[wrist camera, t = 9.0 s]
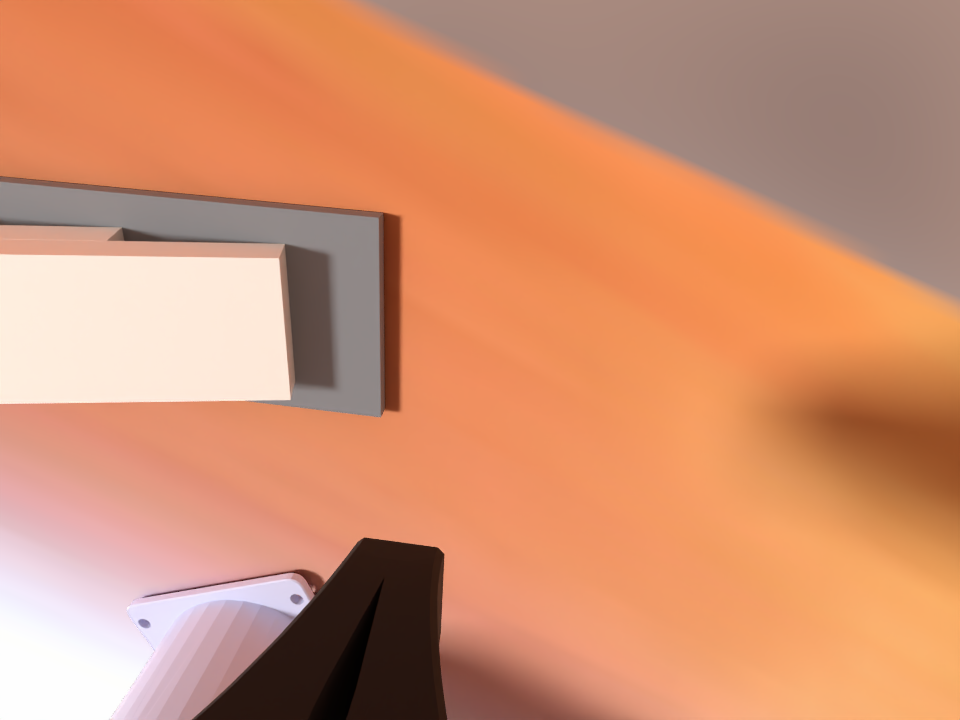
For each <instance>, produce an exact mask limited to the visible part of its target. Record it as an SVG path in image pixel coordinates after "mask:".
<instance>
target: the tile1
mask: <svg viewBox="0 0 960 720" xmlns="http://www.w3.org/2000/svg"><path fill="white" fill-rule="evenodd" d="M294 383H295V370H294V357H293V344H292V331H291V318H290V305H289V292H288V279H287V266H286V253H285V244H268V243H208V242H149V241H90V240H30V239H0V404H20V403H99V402H177V401H256V400H291V396H292V392H293V388H294Z"/></svg>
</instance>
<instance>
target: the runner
mask: <svg viewBox="0 0 960 720" xmlns="http://www.w3.org/2000/svg"><path fill="white" fill-rule="evenodd" d="M0 225H23V226H74V227H122V231H123V237H124V241H149V242H208V243H268V244H285V253H286V266H287V279H288V292H289V305H290V318H291V331H292V344H293V357H294V370H295V383H294V388H293V392H292V396H291V400H256V401H250V402H259V403H267V404H275V405H283V406H292V407H300V408H308V409H316V410H325V411H333V412H341V413H349V414H358V415H366V416H374V417H381V416H382V414H383V412H384V410H385V364H384V231H383V213H380V212H369V211H359V210H348V209H338V208H327V207H316V206H306V205H295V204H285V203H274V202H264V201H253V200H243V199H232V198H221V197H211V196H200V195H190V194H179V193H169V192H158V191H148V190H137V189H126V188H116V187H105V186H95V185H84V184H74V183H63V182H53V181H42V180H31V179H21V178H10V177H0Z"/></svg>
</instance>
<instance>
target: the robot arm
mask: <svg viewBox="0 0 960 720" xmlns="http://www.w3.org/2000/svg"><path fill="white" fill-rule="evenodd" d="M443 571H444V553H443V552H442V551H441V550H440V549H439V548H437V547H430V546H423V545H415V544H408V543H401V542H393V541H386V540H379V539H371V538H363V539H362V540H360V541H359V542H357V544H356V545H355V546H354V548H353V549H352V550H351V552H350V553H349V554H348V556H347V557H346V558H345V560H344V561H343V562H342V563H341V565H340V566H339V567H338V568H337V570H336V571H335V572H334V573H333V575H332V576H331V577H330V578H329V579H328V581H327V582H326V583H325V584H324V585H323V587H322V588H321V589H320V590H319V591H318V592H317V594H316V595H314V594H313V592H312V590H311V588H310V587H309V585H308V583H307V581H306V580H305V579H304V578H303V577H302V576H301V575H299V574H296V573H286V574H280V575H274V576H269V577H263V578H257V579H251V580H245V581H239V582H233V583H228V584H222V585H216V586H210V587H204V588H198V589H192V590H187V591H181V592H175V593H169V594H163V595H157V596H151V597H146V598H140V599H135V600H133V601H132V603H131V604H130V605H129V607H128V608H127V613H128V615H129V617H130V618H131V620H132V621H133V623H134V624H135V625H136V627H137V628H138V629H139V631H140V632H141V633H142V635H143V636H144V638H145V639H146V640H147V642H148V643H149V644H150V646H151V647H152V648H153V650H154V653H153V654H152V656H151V657H150V659H149V660H148V662H147V663H146V665H145V666H144V668H143V669H142V671H141V672H140V674H139V675H138V677H137V678H136V680H135V681H134V683H133V685H132V686H131V688H130V689H129V691H128V692H127V694H126V695H125V697H124V698H123V700H122V701H121V703H120V704H119V706H118V707H117V709H116V710H115V712H114V713H113V715H112V716H111V718H110V719H109V720H447V715H446V708H445V701H444V694H443V686H442V678H441V668H440V655H439V640H440V634H441V614H442V593H443ZM296 594H297V595H296ZM298 595H300V596H298Z"/></svg>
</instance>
